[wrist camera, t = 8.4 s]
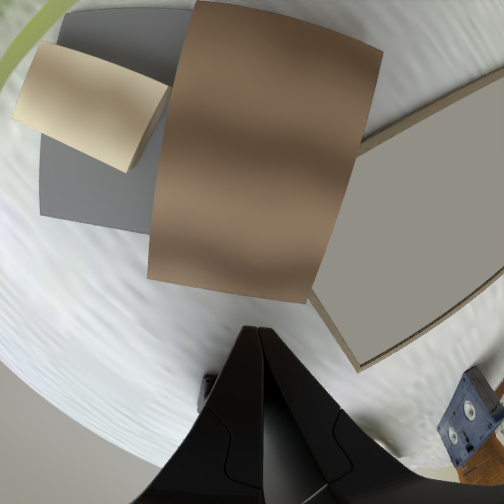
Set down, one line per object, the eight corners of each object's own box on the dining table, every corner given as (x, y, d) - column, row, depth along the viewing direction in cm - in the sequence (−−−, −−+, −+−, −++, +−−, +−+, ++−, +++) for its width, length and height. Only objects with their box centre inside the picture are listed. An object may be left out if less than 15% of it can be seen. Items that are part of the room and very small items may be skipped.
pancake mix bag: (445, 460, 54) (472, 530, 29) (498, 423, 50) (531, 490, 25) (446, 463, 57) (471, 528, 32) (496, 429, 53) (526, 491, 28)
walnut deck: (298, 283, 21) (305, 304, 19) (155, 258, 19) (147, 278, 17) (365, 57, 14) (383, 51, 12) (201, 14, 13) (196, 0, 10)
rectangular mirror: (513, 60, 13) (248, 206, 19) (521, 60, 12) (248, 211, 18) (542, 226, 21) (354, 366, 27) (547, 230, 20) (357, 373, 26)
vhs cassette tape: (446, 423, 38) (465, 463, 29) (433, 429, 38) (452, 470, 30) (478, 362, 30) (511, 412, 21) (463, 370, 30) (495, 423, 21)
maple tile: (137, 166, 16) (125, 173, 14) (29, 115, 13) (11, 118, 12) (175, 88, 14) (168, 86, 12) (58, 45, 12) (41, 40, 10)
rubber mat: (158, 232, 19) (156, 236, 18) (44, 212, 17) (40, 215, 17) (201, 14, 13) (200, 11, 12) (69, 15, 11) (65, 13, 11)
